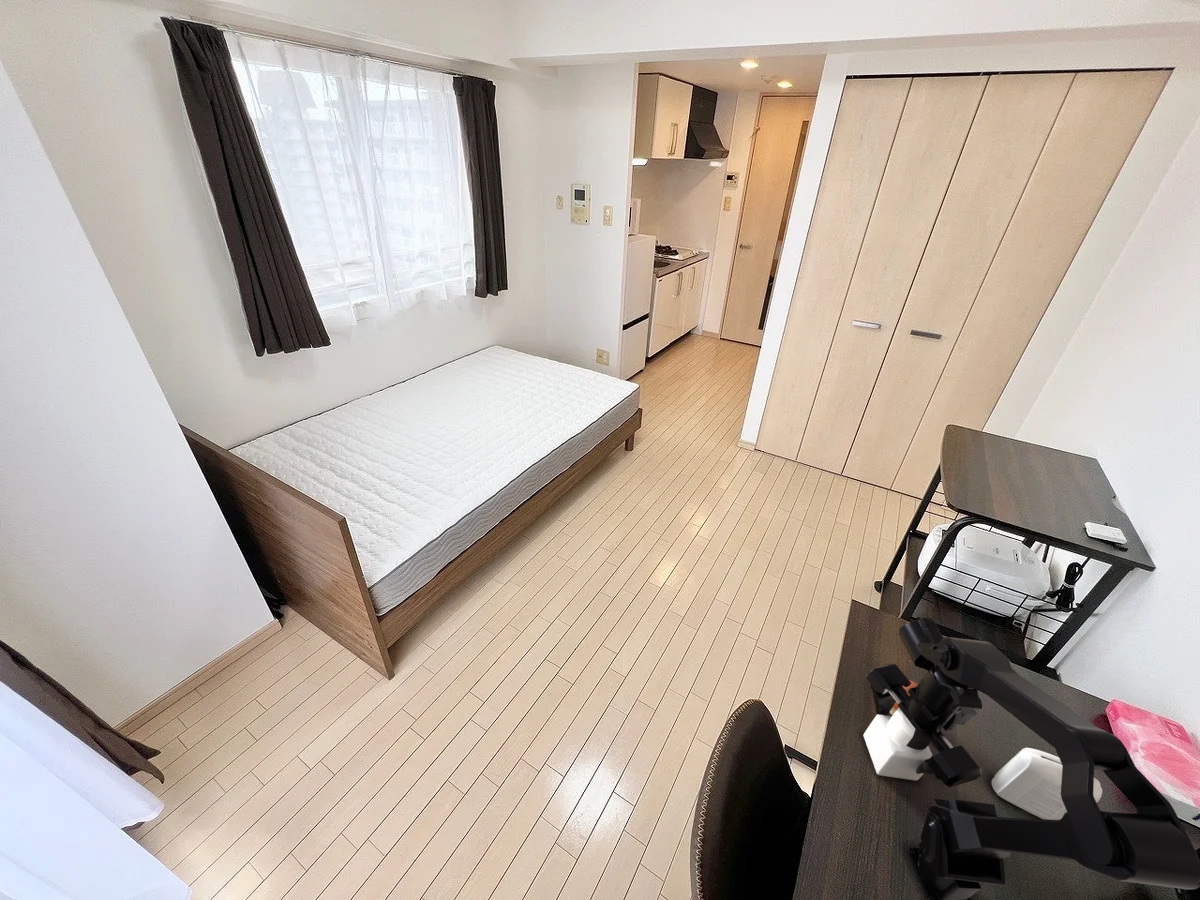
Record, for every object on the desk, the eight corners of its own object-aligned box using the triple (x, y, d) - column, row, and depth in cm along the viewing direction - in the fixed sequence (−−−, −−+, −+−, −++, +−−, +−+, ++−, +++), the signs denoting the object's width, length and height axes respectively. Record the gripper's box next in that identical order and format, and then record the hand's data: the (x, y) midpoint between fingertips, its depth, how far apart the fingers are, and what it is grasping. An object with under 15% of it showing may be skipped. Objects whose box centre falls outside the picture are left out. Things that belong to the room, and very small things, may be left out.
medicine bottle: (900, 739, 90) (928, 703, 84) (918, 781, 84) (949, 746, 78) (862, 734, 91) (886, 698, 84) (876, 775, 85) (904, 739, 78)
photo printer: (1059, 807, 82) (1105, 772, 76) (1065, 833, 79) (1113, 798, 73) (989, 772, 86) (1026, 736, 80) (992, 795, 83) (1031, 760, 77)
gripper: (1032, 745, 71) (979, 792, 80) (932, 637, 86) (897, 686, 95) (974, 762, 68) (925, 809, 77) (881, 647, 83) (849, 697, 92)
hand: (898, 744), depth 85 cm, fingers open, 9 cm apart
